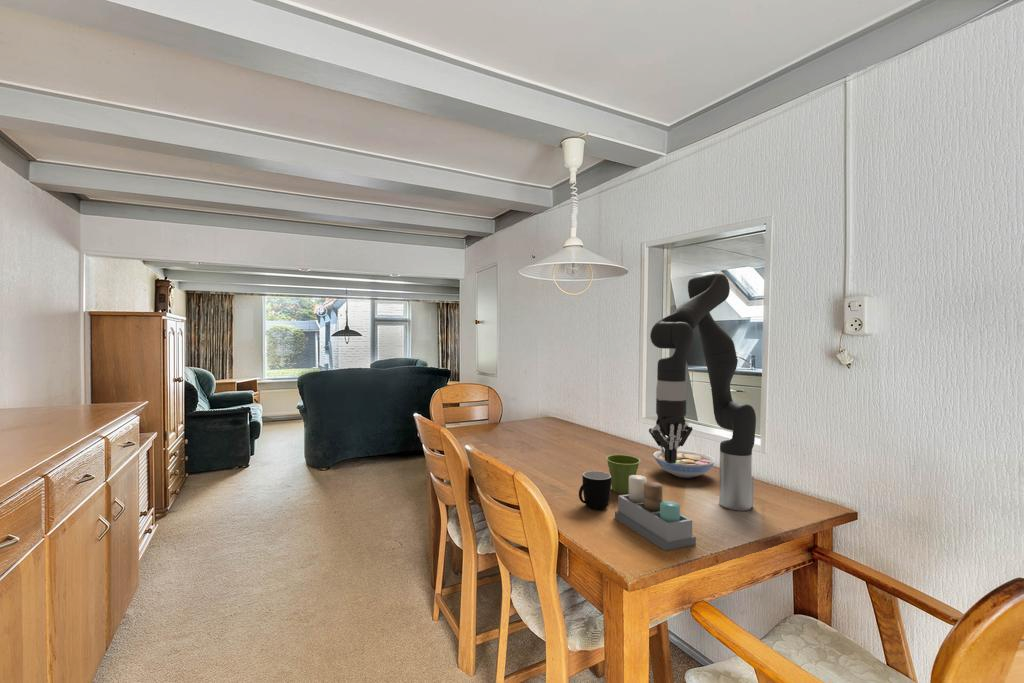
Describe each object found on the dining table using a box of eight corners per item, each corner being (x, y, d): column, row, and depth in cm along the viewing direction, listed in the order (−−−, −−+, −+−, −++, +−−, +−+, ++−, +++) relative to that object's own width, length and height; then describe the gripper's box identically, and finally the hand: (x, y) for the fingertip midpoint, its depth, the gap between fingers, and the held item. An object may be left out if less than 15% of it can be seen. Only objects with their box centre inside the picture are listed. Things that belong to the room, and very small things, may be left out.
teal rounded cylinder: (670, 523, 123) (671, 499, 123) (684, 531, 118) (684, 506, 118) (655, 526, 121) (656, 502, 121) (668, 534, 116) (668, 508, 116)
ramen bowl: (720, 488, 161) (720, 465, 161) (653, 482, 168) (653, 460, 168) (710, 469, 185) (710, 449, 185) (652, 464, 192) (652, 445, 192)
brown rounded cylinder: (654, 503, 129) (654, 481, 129) (666, 510, 125) (666, 486, 125) (639, 506, 127) (640, 483, 127) (651, 512, 123) (651, 488, 123)
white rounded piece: (639, 495, 136) (639, 474, 136) (649, 501, 131) (650, 479, 131) (625, 497, 134) (625, 475, 134) (635, 503, 129) (635, 481, 129)
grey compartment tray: (642, 513, 138) (642, 492, 138) (695, 544, 118) (696, 519, 118) (614, 517, 135) (615, 496, 134) (664, 550, 114) (664, 525, 114)
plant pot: (603, 494, 154) (603, 461, 154) (607, 483, 166) (607, 453, 165) (639, 498, 151) (639, 465, 150) (641, 487, 162) (641, 456, 162)
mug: (596, 499, 149) (596, 469, 149) (616, 508, 142) (617, 476, 142) (569, 507, 142) (569, 475, 142) (589, 516, 135) (590, 483, 135)
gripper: (680, 394, 125) (680, 456, 125) (641, 396, 120) (641, 461, 121) (701, 398, 118) (700, 464, 118) (660, 400, 113) (659, 469, 114)
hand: (670, 462), depth 119 cm, fingers closed
